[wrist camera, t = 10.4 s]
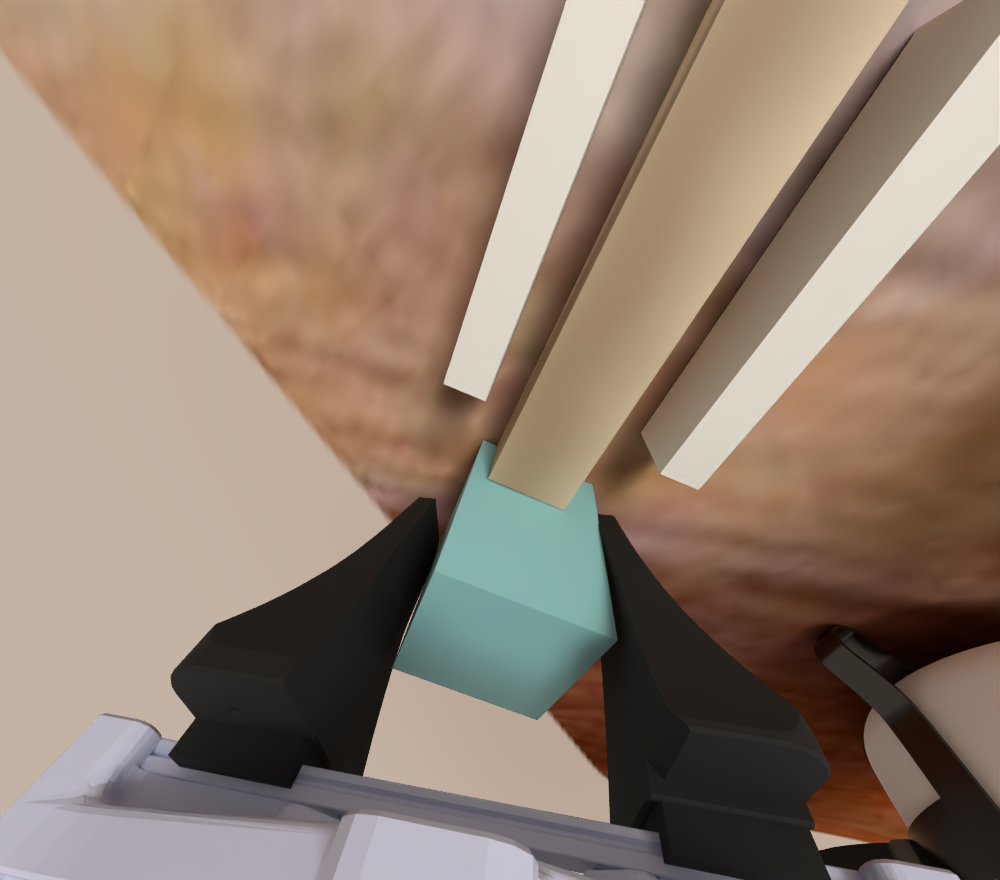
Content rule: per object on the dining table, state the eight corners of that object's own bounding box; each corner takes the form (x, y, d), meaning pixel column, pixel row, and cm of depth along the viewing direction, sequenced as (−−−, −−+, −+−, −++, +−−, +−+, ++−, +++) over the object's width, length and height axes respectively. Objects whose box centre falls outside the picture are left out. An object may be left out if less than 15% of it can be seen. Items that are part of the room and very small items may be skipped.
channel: (968, 55, 7) (1152, -32, 5) (672, 446, 12) (698, 490, 10) (628, -126, 7) (665, -308, 4) (464, 358, 11) (443, 384, 9)
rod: (909, -96, 7) (1096, -277, 4) (561, 466, 13) (564, 510, 11) (791, -168, 6) (921, -398, 4) (499, 439, 13) (488, 478, 11)
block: (592, 484, 13) (617, 640, 8) (543, 558, 15) (537, 720, 10) (483, 440, 13) (434, 570, 8) (448, 522, 15) (392, 668, 10)
